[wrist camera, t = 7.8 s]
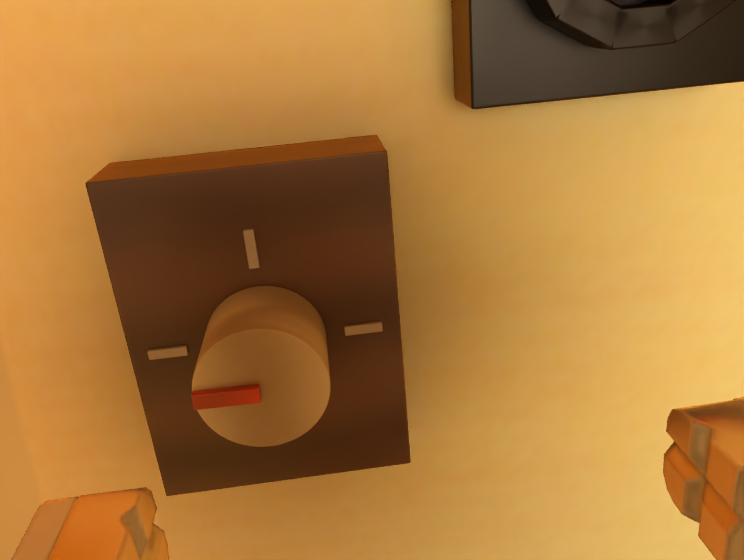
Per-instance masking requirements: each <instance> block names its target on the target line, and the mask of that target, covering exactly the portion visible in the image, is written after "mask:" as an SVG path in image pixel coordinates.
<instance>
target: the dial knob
mask: <svg viewBox="0 0 744 560" xmlns="http://www.w3.org/2000/svg"><path fill="white" fill-rule="evenodd" d="M191 397H192V402H193V407H194V410H197V411H198V413H199V414H200V416H201V417H202V419H203V420H204V421H205V423H206V424H207V425H208V426H209V427H210V428H211V429H212V430H213V431H215V432H216V433H218V434H219V435H220V436H222V437H224V438H226V439H228V440H230V441H233V442H235V443H239V444H242V445H247V446H256V447H266V446H275V445H280V444H283V443H287V442H289V441H292V440H294V439H296V438H298V437H300V436H302V435H303V434H305V433H306V432H307V431H309V430H310V429H311V428H312V427H313V426H314V425H315V424H316V423H317V422H318V420H319V419H320V418H321V416H322V415H323V413H324V411H325V409H326V407H327V404H328V401H329V397H330V373H329V362H328V350H327V339H326V331H325V326H324V323H323V321H322V319H321V317H320V315H319V313H318V312H317V310H316V309H315V308H314V307H313V306H312V304H311V303H310V302H308V301H307V300H306V299H305V298H303V297H302V296H300V295H299V294H297V293H295V292H293V291H290V290H287V289H284V288H280V287H275V286H257V287H251V288H247V289H244V290H241V291H239V292H236V293H234V294H233V295H231V296H229V297H228V298H227V299H225V300H224V301H223V302H222V303H221V304H220V305H219V306H218V307H217V308H216V310H215V311H214V312H213V314H212V316H211V318H210V320H209V322H208V325H207V329H206V332H205V336H204V339H203V343H202V346H201V350H200V353H199V357H198V360H197V364H196V367H195V371H194V375H193V380H192V396H191Z"/></svg>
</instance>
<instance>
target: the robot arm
mask: <svg viewBox="0 0 744 560" xmlns="http://www.w3.org/2000/svg"><path fill="white" fill-rule="evenodd" d="M666 432H667V433H668V434H669V435H670V436H671V438H672V439H673V440H674V443H673V444H672V445H671V446H670V448H669V449H668V450H667V451H666V453H665V454H664V464H663V473H664V478H665V482H666V487H667V490H668V492H669V494H670V496H671V498H672V500H673V502H674V504H675V505H676V507H677V508H678V509H679V511H680V512H681V513H682V514H683V515H685V516H687V517H688V518H690V519H692V520H694V521H696V522H698V523H700V525H699V533H698V536H699V538H700V539H701V540H702V542H703V543H704V544H705V546H706V547H707V548H708V549H709V551H710V552H711V553H712V555H713V556H714V557H715V559H716V560H744V397H742V398H736V399H733V400H731V401H724V402H717V403H711V404H704V405H698V406H691V407H685V408H678V409H672V411H671V413H670V415H669V416H668V420H667V429H666ZM156 510H157V507H156V504H155V501H154V498H153V495H152V492H151V491H150V490H149V489H147V488H146V487H145V488H137V489H130V490H122V491H114V492H106V493H98V494H90V495H82V496H80V497H69V498H62V499H55V500H48V501H46V502H44V503H43V504H41V505H40V506H39V507H38V509H37V511H36V513H35V515H34V517H33V519H32V521H31V523H30V524H29V527H28V528H27V530H26V532H25V534H24V536H23V538H22V540H21V542H20V544H19V546H18V548H17V550H16V552H15V554H14V556H13V557H12V559H11V560H169V552H168V545H167V541H166V537H165V533H164V531H163V530H162V529H161V528H159V527H158V526H156V525H155V524H154V523H153V521H154V518H155V514H156Z"/></svg>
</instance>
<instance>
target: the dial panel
mask: <svg viewBox="0 0 744 560" xmlns="http://www.w3.org/2000/svg"><path fill="white" fill-rule="evenodd" d="M86 188H87V192H88V195H89V199H90V203H91V207H92V211H93V215H94V219H95V222H96V226H97V230H98V234H99V238H100V242H101V246H102V249H103V253H104V257H105V261H106V265H107V269H108V272H109V276H110V280H111V284H112V288H113V292H114V296H115V299H116V303H117V307H118V311H119V315H120V319H121V323H122V326H123V330H124V334H125V338H126V342H127V346H128V349H129V353H130V357H131V361H132V365H133V369H134V373H135V376H136V380H137V384H138V388H139V392H140V396H141V399H142V403H143V407H144V411H145V415H146V419H147V423H148V426H149V430H150V434H151V438H152V442H153V446H154V450H155V453H156V457H157V461H158V465H159V469H160V473H161V476H162V480H163V484H164V488H165V492H166V495H167V496H171V495H179V494H186V493H193V492H201V491H208V490H215V489H223V488H230V487H237V486H245V485H252V484H259V483H266V482H274V481H281V480H288V479H296V478H303V477H310V476H318V475H325V474H332V473H340V472H347V471H354V470H362V469H369V468H376V467H384V466H391V465H398V464H406V463H410V462H411V460H410V446H409V433H408V420H407V407H406V394H405V381H404V367H403V354H402V341H401V328H400V315H399V302H398V288H397V275H396V262H395V249H394V236H393V223H392V209H391V196H390V183H389V170H388V157H387V151H386V149H385V148H384V146H383V144H382V143H381V141H380V139H379V138H378V136H377V135H373V136H364V137H354V138H345V139H335V140H325V141H316V142H306V143H297V144H287V145H278V146H268V147H259V148H249V149H240V150H230V151H221V152H211V153H201V154H192V155H182V156H173V157H163V158H154V159H144V160H135V161H125V162H116V163H109V164H108V165H107V166H106V167H104V168H103V169H102V170H101V171H99V172H98V173H97V174H96V175H95V176H93V177H92V178H91V179H90V180H89V181H87V182H86ZM257 286H275V287H280V288H284V289H287V290H290V291H293V292H295V293H297V294H299V295H300V296H302V297H303V298H305V299H306V300H307V301H308V302H310V303H311V304H312V306H313V307H314V308H315V309H316V310H317V312H318V313H319V315H320V317H321V319H322V321H323V323H324V326H325V331H326V339H327V350H328V362H329V373H330V397H329V401H328V404H327V407H326V409H325V411H324V413H323V415H322V416H321V418H320V419H319V420H318V422H317V423H316V424H315V425H314V426H313V427H312V428H311V429H310V430H309V431H307V432H306V433H305V434H303V435H302V436H300V437H298V438H296V439H294V440H292V441H289V442H287V443H283V444H280V445H275V446H266V447H256V446H247V445H242V444H239V443H235V442H233V441H230V440H228V439H226V438H224V437H222V436H220V435H219V434H218V433H216V432H215V431H213V430H212V429H211V428H210V427H209V426H208V425H207V424H206V423H205V421H204V420H203V419H202V417H201V416H200V414H199V413H198V411H197V410H194V407H193V402H192V397H191V396H192V380H193V375H194V371H195V367H196V364H197V360H198V357H199V353H200V350H201V346H202V343H203V339H204V336H205V332H206V329H207V325H208V322H209V320H210V318H211V316H212V314H213V312H214V311H215V310H216V308H217V307H218V306H219V305H220V304H221V303H222V302H223V301H224V300H225V299H227V298H228V297H229V296H231V295H233V294H234V293H236V292H239V291H241V290H244V289H247V288H251V287H257Z"/></svg>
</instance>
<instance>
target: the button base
mask: <svg viewBox="0 0 744 560" xmlns="http://www.w3.org/2000/svg"><path fill="white" fill-rule="evenodd" d="M452 29H453V57H454V86H455V99H456V100H458V101H460V102H461V103H463V104H465V105H466V106H468V107H470V108H472V109H482V108H492V107H501V106H511V105H521V104H530V103H540V102H550V101H560V100H569V99H579V98H589V97H598V96H608V95H618V94H627V93H637V92H647V91H656V90H666V89H676V88H685V87H695V86H705V85H714V84H724V83H734V82H743V81H744V0H452Z"/></svg>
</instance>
